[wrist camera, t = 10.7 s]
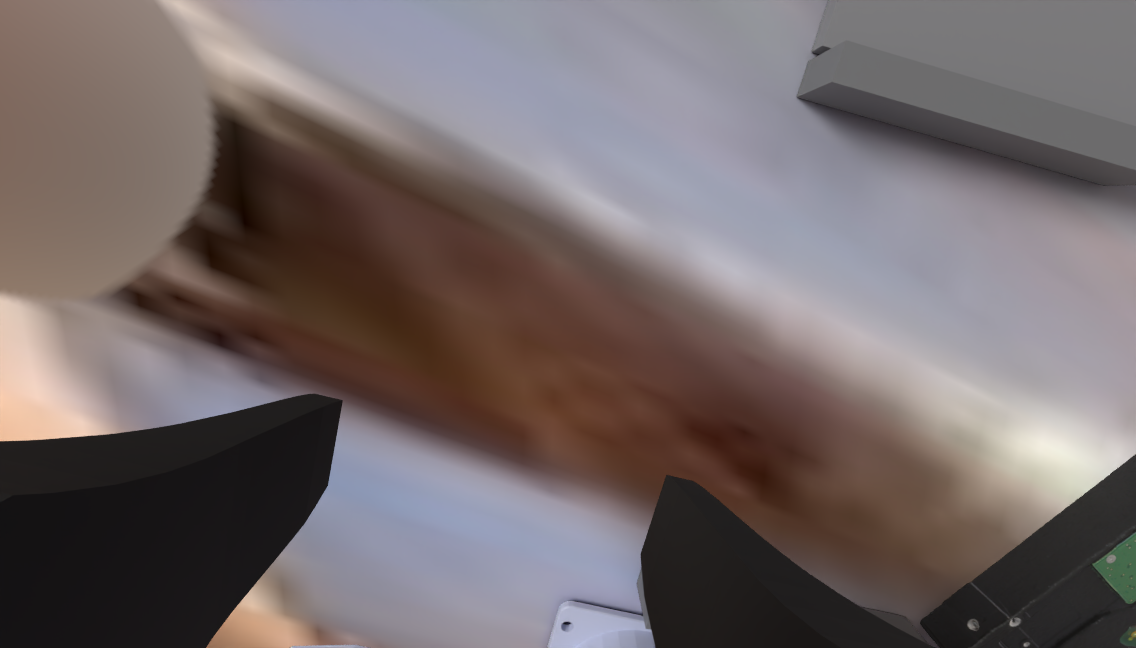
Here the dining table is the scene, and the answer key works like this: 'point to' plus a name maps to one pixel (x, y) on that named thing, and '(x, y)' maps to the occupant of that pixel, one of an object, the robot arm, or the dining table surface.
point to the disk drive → (1056, 581)
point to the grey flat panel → (987, 85)
